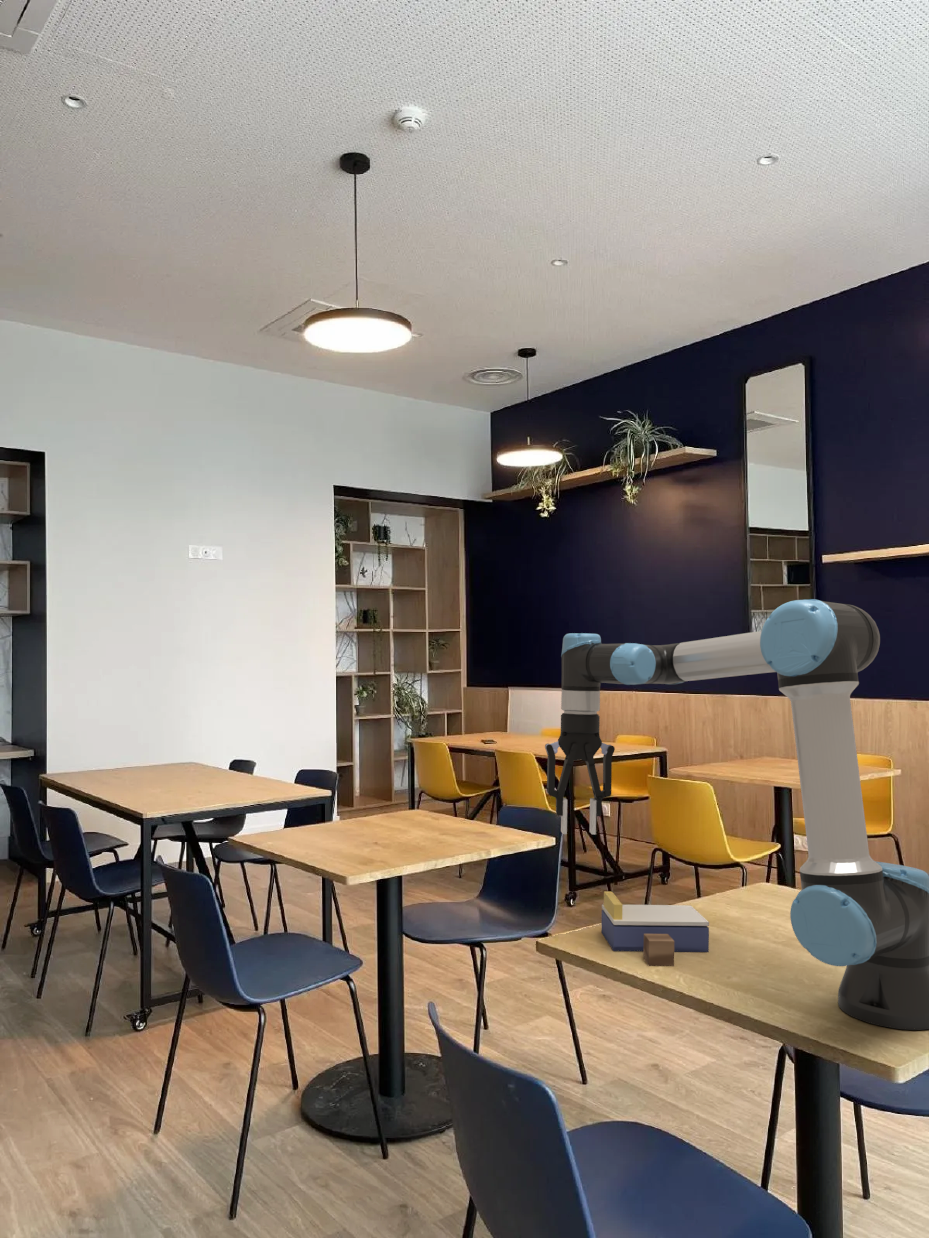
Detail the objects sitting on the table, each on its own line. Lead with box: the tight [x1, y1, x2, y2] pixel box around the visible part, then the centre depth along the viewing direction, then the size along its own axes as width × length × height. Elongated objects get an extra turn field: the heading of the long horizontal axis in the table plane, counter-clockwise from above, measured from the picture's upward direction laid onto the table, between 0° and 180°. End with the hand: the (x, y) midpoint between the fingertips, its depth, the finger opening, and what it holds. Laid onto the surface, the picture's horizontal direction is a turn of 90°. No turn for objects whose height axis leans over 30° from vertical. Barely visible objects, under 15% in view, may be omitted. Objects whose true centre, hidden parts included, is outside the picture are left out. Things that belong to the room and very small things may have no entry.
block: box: [642, 934, 675, 967], centre depth 169 cm, size 4×4×4 cm
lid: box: [601, 890, 710, 927], centre depth 181 cm, size 12×18×4 cm, turn 92°
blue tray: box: [600, 909, 710, 953], centre depth 181 cm, size 12×18×4 cm, turn 92°
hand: (578, 832), depth 181 cm, fingers open, 5 cm apart
